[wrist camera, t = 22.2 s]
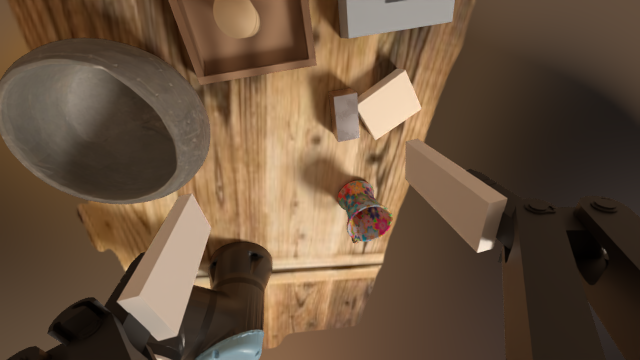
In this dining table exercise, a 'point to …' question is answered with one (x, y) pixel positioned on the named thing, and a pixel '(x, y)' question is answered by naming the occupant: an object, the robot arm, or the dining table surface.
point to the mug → (364, 212)
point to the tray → (246, 40)
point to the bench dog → (344, 114)
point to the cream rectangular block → (387, 103)
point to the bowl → (103, 120)
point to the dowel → (237, 18)
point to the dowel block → (390, 15)
